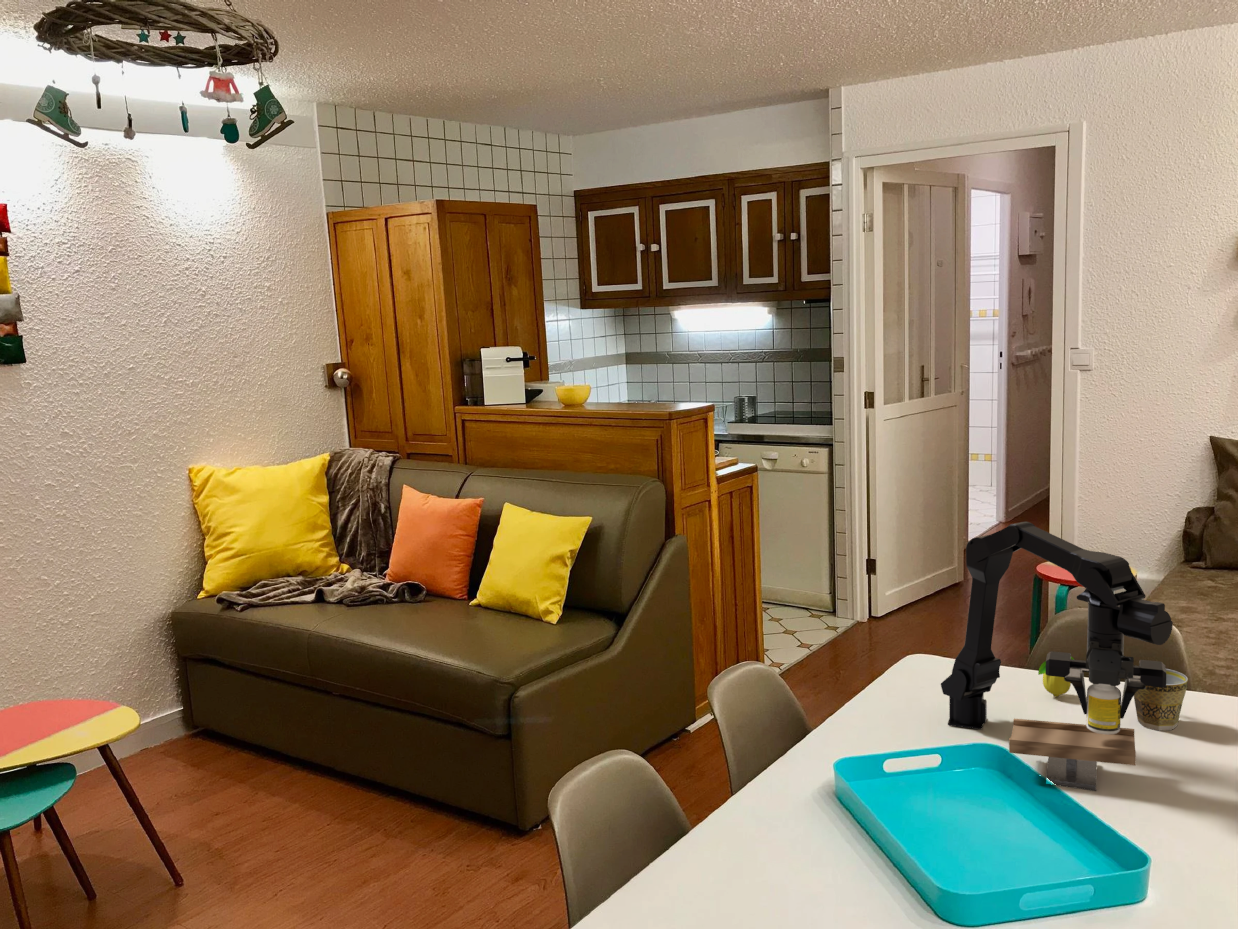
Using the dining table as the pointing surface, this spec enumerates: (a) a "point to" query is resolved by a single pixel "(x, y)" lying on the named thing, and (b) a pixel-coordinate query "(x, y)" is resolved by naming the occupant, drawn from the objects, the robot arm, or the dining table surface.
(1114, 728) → the supplement bottle
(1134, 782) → the dining table surface
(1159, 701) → the ceramic cup
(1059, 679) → the lemon
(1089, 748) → the balance board
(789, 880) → the dining table surface
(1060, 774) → the board stand
